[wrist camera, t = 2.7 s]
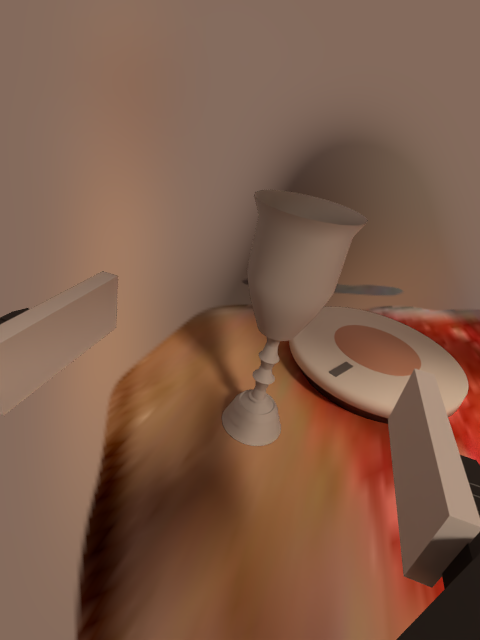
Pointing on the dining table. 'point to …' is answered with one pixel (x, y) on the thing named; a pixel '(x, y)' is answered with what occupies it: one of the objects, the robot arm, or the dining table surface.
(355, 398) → the turntable
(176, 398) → the dining table surface
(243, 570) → the dining table surface
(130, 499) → the dining table surface
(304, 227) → the chalice
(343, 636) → the dining table surface
